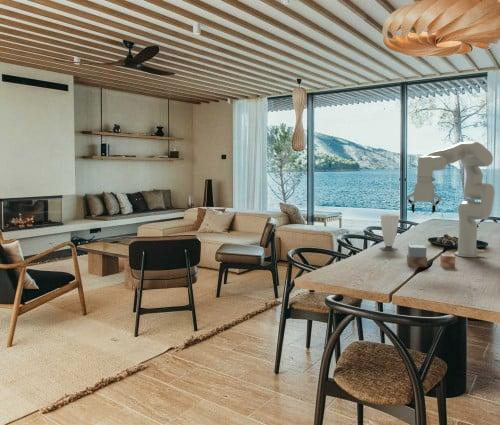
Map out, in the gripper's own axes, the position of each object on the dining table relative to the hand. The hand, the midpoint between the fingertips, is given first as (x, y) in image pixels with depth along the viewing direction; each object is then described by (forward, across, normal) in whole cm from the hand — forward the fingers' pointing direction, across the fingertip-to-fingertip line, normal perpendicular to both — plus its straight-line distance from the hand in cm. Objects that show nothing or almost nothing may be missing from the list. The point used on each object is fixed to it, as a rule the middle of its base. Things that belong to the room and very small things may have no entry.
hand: (423, 212), depth 237 cm
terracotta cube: (+27, -13, +1) cm, 30 cm away
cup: (+27, +21, -37) cm, 51 cm away
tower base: (+28, +2, +3) cm, 28 cm away
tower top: (+23, +2, +3) cm, 23 cm away
